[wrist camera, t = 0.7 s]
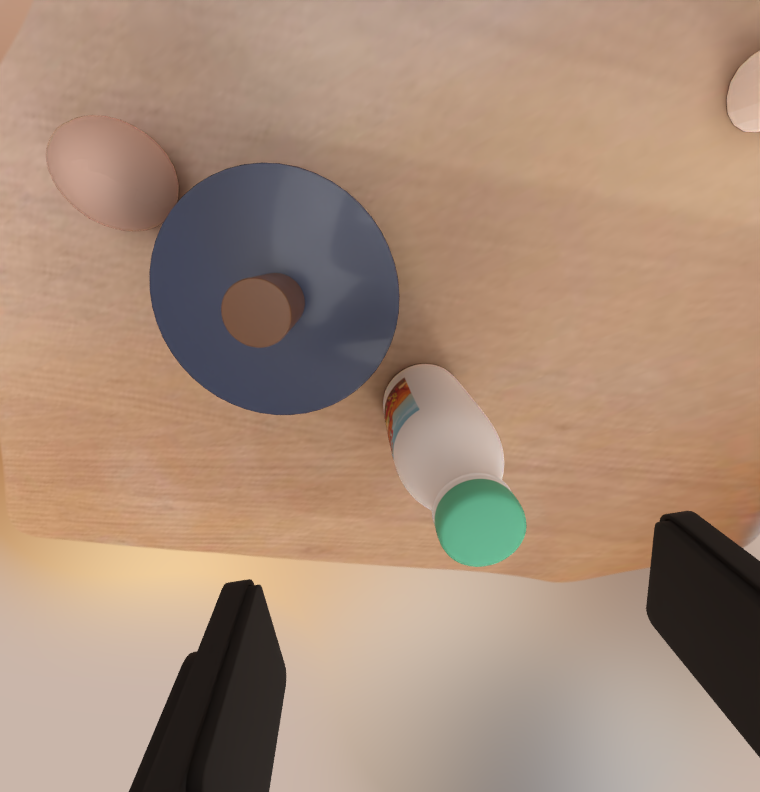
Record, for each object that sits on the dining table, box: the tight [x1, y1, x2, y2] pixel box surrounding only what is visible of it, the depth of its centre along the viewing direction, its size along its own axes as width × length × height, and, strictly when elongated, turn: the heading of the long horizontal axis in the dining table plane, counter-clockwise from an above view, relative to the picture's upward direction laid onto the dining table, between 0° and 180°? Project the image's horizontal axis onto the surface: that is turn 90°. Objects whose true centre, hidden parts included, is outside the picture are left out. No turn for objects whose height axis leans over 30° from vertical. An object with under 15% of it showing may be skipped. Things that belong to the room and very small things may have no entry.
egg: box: [46, 115, 179, 231], centre depth 28 cm, size 7×7×10 cm
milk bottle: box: [383, 364, 526, 567], centre depth 30 cm, size 8×8×20 cm
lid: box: [150, 163, 399, 415], centre depth 22 cm, size 14×14×7 cm
